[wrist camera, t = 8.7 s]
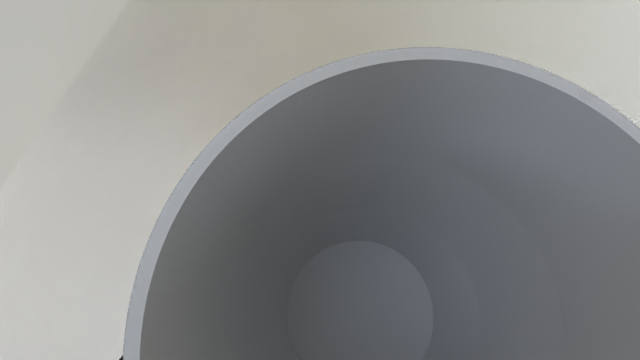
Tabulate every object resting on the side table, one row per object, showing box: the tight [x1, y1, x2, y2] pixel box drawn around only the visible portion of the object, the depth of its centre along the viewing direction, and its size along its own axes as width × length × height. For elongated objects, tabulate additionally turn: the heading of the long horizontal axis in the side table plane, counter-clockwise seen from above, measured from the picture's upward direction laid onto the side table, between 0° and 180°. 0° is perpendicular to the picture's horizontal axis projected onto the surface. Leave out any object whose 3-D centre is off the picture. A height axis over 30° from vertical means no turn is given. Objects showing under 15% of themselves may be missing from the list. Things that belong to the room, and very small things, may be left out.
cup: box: [123, 47, 640, 360], centre depth 11 cm, size 8×8×10 cm
